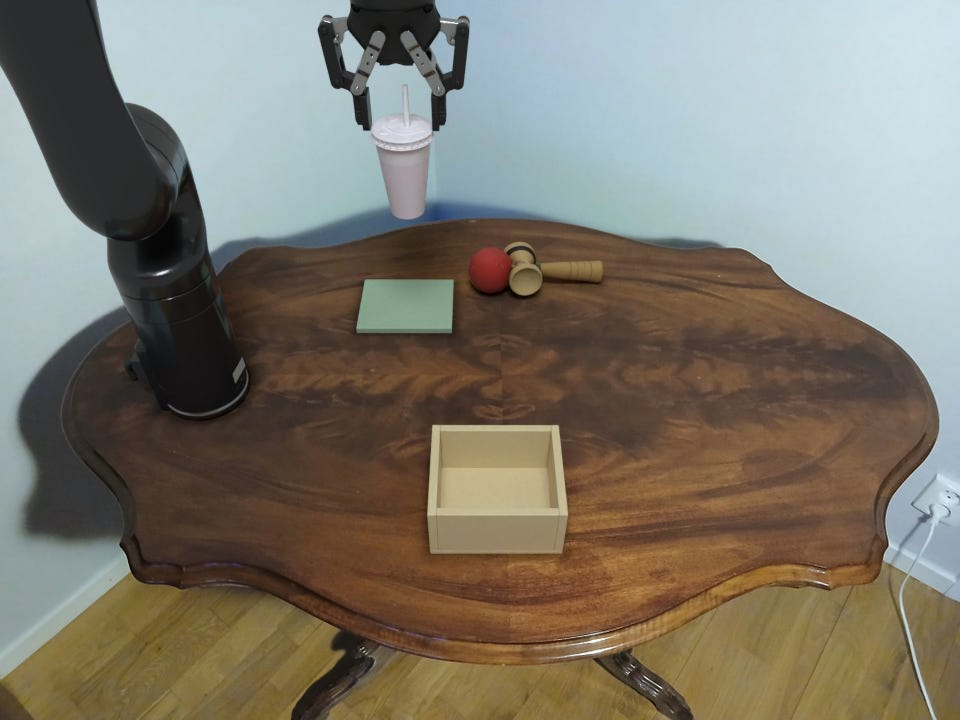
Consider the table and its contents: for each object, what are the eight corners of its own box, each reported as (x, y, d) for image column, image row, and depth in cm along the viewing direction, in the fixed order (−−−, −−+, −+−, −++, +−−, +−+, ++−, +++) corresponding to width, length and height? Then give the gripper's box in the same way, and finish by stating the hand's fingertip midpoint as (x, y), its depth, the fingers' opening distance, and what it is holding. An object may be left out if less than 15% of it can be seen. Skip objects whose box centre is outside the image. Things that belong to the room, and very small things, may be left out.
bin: (430, 553, 69) (427, 515, 65) (434, 464, 77) (432, 424, 72) (562, 553, 70) (568, 515, 65) (553, 464, 77) (558, 424, 73)
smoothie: (428, 229, 77) (422, 102, 67) (370, 222, 78) (356, 95, 68) (443, 198, 81) (439, 74, 72) (388, 191, 82) (377, 68, 73)
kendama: (586, 267, 104) (462, 262, 100) (600, 235, 99) (469, 229, 95) (597, 309, 100) (468, 305, 96) (612, 277, 94) (475, 273, 91)
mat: (356, 333, 92) (356, 328, 91) (365, 283, 99) (364, 279, 98) (451, 333, 92) (451, 328, 91) (453, 284, 99) (453, 279, 98)
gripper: (474, -71, 64) (473, 111, 76) (310, -72, 64) (335, 110, 76) (473, -45, 59) (473, 146, 70) (294, -47, 59) (324, 145, 70)
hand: (401, 127), depth 73 cm, fingers closed on smoothie, 6 cm apart
